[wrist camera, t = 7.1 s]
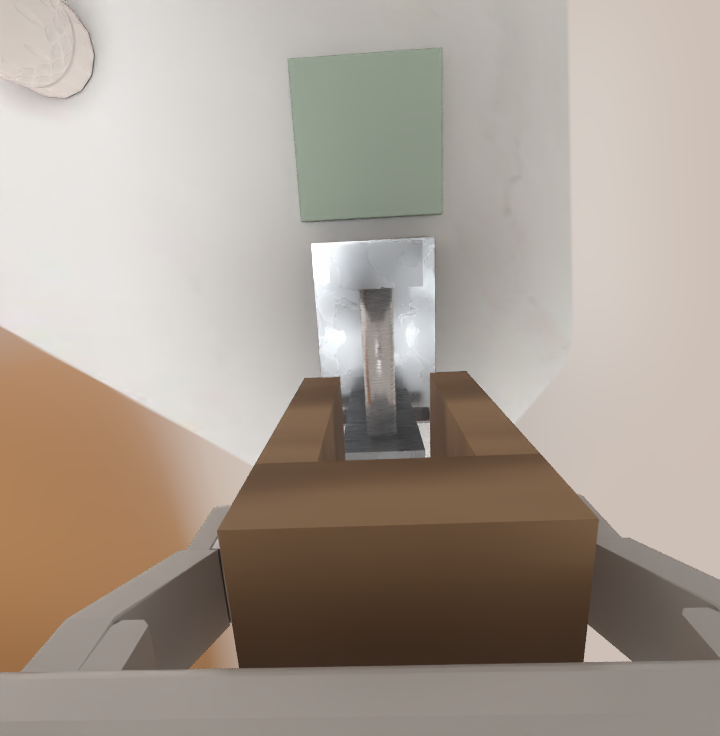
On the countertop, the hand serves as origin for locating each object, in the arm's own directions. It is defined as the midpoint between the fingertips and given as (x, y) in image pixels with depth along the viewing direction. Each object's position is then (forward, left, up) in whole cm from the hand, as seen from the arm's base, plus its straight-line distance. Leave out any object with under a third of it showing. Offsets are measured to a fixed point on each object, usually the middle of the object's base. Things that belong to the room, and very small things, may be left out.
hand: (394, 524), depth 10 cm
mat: (-16, 0, -29) cm, 33 cm away
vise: (0, 0, -29) cm, 29 cm away
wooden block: (0, 0, -5) cm, 5 cm away
